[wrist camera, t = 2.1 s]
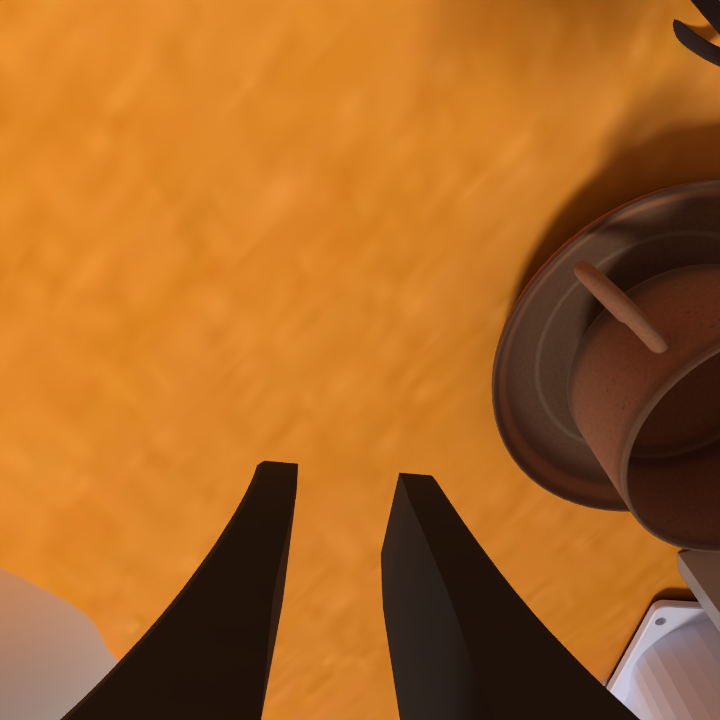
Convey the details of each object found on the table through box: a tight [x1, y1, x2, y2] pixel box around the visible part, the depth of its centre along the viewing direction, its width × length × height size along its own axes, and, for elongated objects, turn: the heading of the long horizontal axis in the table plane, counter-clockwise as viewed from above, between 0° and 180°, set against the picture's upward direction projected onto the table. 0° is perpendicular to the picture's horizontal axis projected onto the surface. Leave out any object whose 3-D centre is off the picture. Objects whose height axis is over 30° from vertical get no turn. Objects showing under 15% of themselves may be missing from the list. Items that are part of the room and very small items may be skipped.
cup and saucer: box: [492, 179, 720, 552], centre depth 18 cm, size 12×12×6 cm
